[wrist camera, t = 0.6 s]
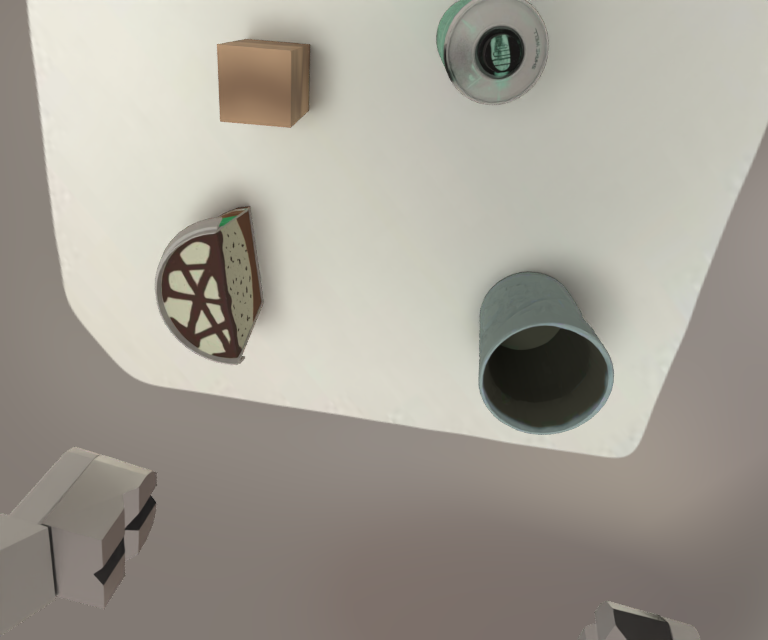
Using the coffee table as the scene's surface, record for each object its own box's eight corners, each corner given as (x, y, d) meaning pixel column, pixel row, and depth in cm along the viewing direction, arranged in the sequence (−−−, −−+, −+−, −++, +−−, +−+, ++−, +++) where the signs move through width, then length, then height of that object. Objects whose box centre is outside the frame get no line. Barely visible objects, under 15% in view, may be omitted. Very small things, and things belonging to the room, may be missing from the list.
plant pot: (585, 347, 60) (621, 422, 49) (480, 370, 61) (493, 446, 51) (569, 251, 55) (605, 309, 45) (457, 277, 57) (466, 340, 46)
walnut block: (246, 38, 49) (216, 44, 42) (309, 44, 49) (291, 50, 42) (248, 105, 51) (220, 121, 44) (308, 110, 51) (290, 127, 44)
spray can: (465, 90, 50) (490, 136, 32) (421, 33, 48) (422, 48, 30) (522, 41, 48) (582, 61, 30) (478, -20, 46) (515, -38, 28)
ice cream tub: (178, 191, 55) (131, 227, 46) (247, 189, 54) (213, 225, 45) (202, 317, 60) (165, 371, 51) (265, 316, 60) (238, 370, 51)
